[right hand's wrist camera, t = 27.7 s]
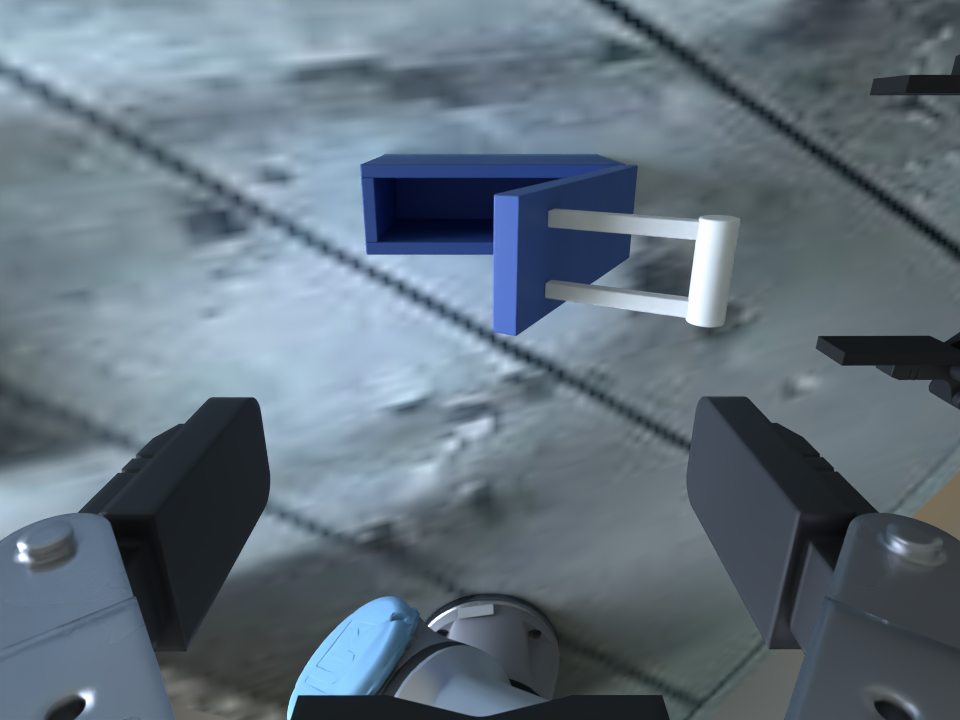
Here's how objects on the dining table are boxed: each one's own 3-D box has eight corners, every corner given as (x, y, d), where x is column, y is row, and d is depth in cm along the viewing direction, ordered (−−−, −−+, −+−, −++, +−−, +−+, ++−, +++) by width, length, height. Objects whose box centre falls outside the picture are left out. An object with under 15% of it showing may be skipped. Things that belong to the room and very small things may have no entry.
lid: (492, 332, 25) (707, 370, 22) (493, 194, 23) (732, 208, 20) (612, 255, 39) (756, 270, 36) (619, 164, 37) (773, 170, 33)
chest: (388, 227, 49) (366, 254, 40) (385, 154, 47) (359, 164, 38) (591, 227, 49) (618, 254, 40) (596, 154, 47) (626, 164, 38)
